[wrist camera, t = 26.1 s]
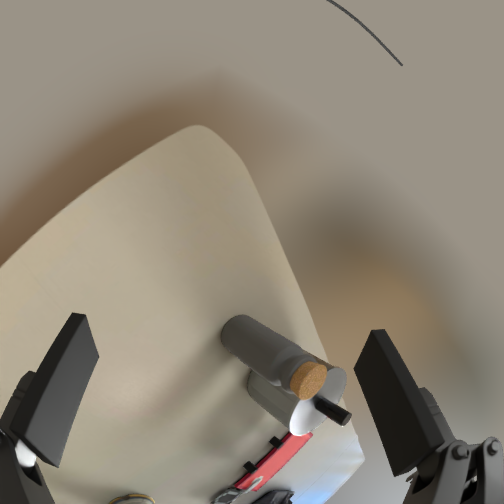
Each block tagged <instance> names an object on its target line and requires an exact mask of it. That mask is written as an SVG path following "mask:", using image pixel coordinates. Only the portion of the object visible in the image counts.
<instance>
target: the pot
mask: <svg viewBox="0 0 504 504" xmlns="http://www.w3.org/2000/svg"><path fill="white" fill-rule="evenodd" d="M302 350H303V349H302ZM303 353H304V354H308V355H310V356H312V357H313V358H315V360H316V362H317V363H318V364H321V365H324V366H325V367H326V369H329V368H331V367H334V366H332V365H330V364H328V363H326V362H325V361H323V360H321V359H319V358H317V357H316V356H314V355H312V354H310V353H308V352H307V351H305V350H303ZM247 387H248V392H249V394H250V396H251V397H252V398H253V399H254V401H256V402H257V403H258V404H259V405H260V406H261V407H263V408H264V409H265V410H266V411H267V412H269V413H270V414H271V415H272V416H273V417H275V418H276V419H277V420H278V421H280V422H281V423H282V424H283V425H285V426H286V427H287V428H288V418H289V414H290V412H291V410H292V407H293V405H294V404H295V402H296V400H297V399H298V397H297V396H296V394H290V393H288V392H286V391H285V390H284V389H283V388H282V386H281V385H280V386H275V385H272V384H270V383H269V382H268V381H266V380H265V379H264V378H262V377H261V376H260V375H258V374H257V373H256V372H255V371H253V370H252V371H251V373H250V375H249V379H248V386H247Z"/></svg>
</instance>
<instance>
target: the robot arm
mask: <svg viewBox="0 0 504 504" xmlns="http://www.w3.org/2000/svg"><path fill="white" fill-rule="evenodd" d="M327 1H329V2H330V3H332V4H333V5H335V6H337V7H338V8H339V9H341V10H342V11H344V12H345V13H346V14H348V15H349V16H350V17H351V18H353V19H354V20H355V21H356V22H358V23H359V24H360V25H361V26H362V27H363V28H364V29H365V30H366V31H368V32H369V33H370V34H371V35H372V36H373V37H374V38H375V39H376V40H377V41H378V42H379V43H380V44H381V45H382V46H383V47H384V48H385V50H386V51H387V52H388V53H389V54H390V55H391V56H392V57H393V58H394V59H395V60H396V61H397V62H398V63H399V64H400V65H401V66H403V64H402V63H401V62H400V61H399V60H398V59H397V58H396V57H395V56H394V55H393V54H392V52H391V51H390V50H389V49H388V48H387V47H386V46H385V45H384V44H383V43H382V42H381V41H380V40H379V39H378V38H377V37H376V36H375V35H374V34H373V33H372V32H371V31H370V30H369V29H368V28H367V27H366V26H365V25H363V23H362V22H360V21H359V20H358V19H357V18H356V17H354V16H353V15H352V14H351V13H349V12H348V11H347V10H345V9H344V8H343V7H341V6H340V5H338V4H337V3H335V2H334V1H332V0H327ZM98 358H99V355H98V352H97V349H96V346H95V343H94V340H93V337H92V334H91V330H90V327H89V324H88V320H87V317H86V315H85V314H79V313H73V312H72V314H71V315H70V317H69V318H68V320H67V321H66V323H65V325H64V326H63V328H62V329H61V331H60V332H59V334H58V336H57V337H56V339H55V341H54V342H53V344H52V345H51V347H50V349H49V351H48V352H47V354H46V356H45V357H44V359H43V361H42V363H41V364H40V366H39V368H38V370H37V372H36V373H35V372H32V371H28V372H27V373H26V374H25V375H24V376H23V377H22V378H21V379H20V381H19V383H18V385H17V387H16V389H15V391H14V392H13V394H12V395H13V396H11V398H10V400H9V402H8V404H7V406H6V408H5V410H4V412H3V415H2V417H1V419H0V504H55V502H54V500H53V498H52V496H51V494H50V492H49V489H48V487H47V485H46V483H45V480H44V478H43V476H42V473H41V471H40V468H39V466H38V464H37V462H36V457H37V456H38V457H39V458H40V459H41V460H42V461H43V462H45V463H48V464H50V465H52V466H55V467H57V468H59V464H60V461H61V458H62V454H63V451H64V448H65V445H66V442H67V439H68V436H69V433H70V430H71V427H72V424H73V421H74V418H75V416H76V413H77V410H78V407H79V405H80V402H81V400H82V397H83V394H84V392H85V389H86V387H87V384H88V382H89V379H90V377H91V375H92V372H93V370H94V367H95V365H96V363H97V361H98ZM354 371H355V374H356V376H357V379H358V381H359V384H360V386H361V388H362V391H363V394H364V396H365V399H366V401H367V404H368V406H369V409H370V412H371V414H372V417H373V419H374V422H375V425H376V427H377V430H378V433H379V436H380V438H381V441H382V444H383V447H384V449H385V452H386V455H387V458H388V461H389V464H390V466H391V469H392V472H393V475H394V477H396V476H399V475H401V474H404V473H407V472H409V471H411V470H412V469H413V468H414V467H417V471H416V472H415V473H413V474H412V475H411V476H409V477H408V478H407V480H406V482H408V481H409V480H411V479H412V478H413V480H412V481H411V482H410V483H411V485H410V487H409V490H408V492H407V494H406V497H405V499H404V501H403V504H504V459H503V449H502V445H501V443H500V441H499V440H498V439H497V438H495V437H489V438H487V439H486V440H485V441H484V442H483V443H482V444H475V445H474V444H473V445H468V444H467V443H466V442H464V441H462V440H456V439H455V437H454V436H453V434H452V432H451V429H450V427H449V426H448V423H447V422H446V420H445V418H444V416H443V414H442V412H441V410H440V408H439V406H438V405H437V402H436V401H435V399H434V397H433V395H432V394H431V393H430V392H429V391H428V390H427V389H426V388H425V387H424V388H418V386H417V385H416V383H415V381H414V379H413V377H412V376H411V374H410V372H409V370H408V368H407V367H406V365H405V363H404V361H403V360H402V358H401V356H400V354H399V353H398V351H397V349H396V347H395V346H394V344H393V342H392V341H391V339H390V337H389V336H388V334H387V332H386V331H385V329H380V330H371V332H370V335H369V337H368V339H367V341H366V343H365V346H364V348H363V350H362V352H361V354H360V356H359V358H358V361H357V363H356V365H355V367H354ZM476 475H477V481H474V477H475V476H476Z"/></svg>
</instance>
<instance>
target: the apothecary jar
mask: <svg viewBox="0 0 504 504" xmlns="http://www.w3.org/2000/svg"><path fill="white" fill-rule="evenodd" d="M109 504H154V500H153V499H152V498H151V497H149V496H146V495H142V494H131V495H127V496H125V497H118V498H116V499H114V500H112V501H111V502H110V503H109Z"/></svg>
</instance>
